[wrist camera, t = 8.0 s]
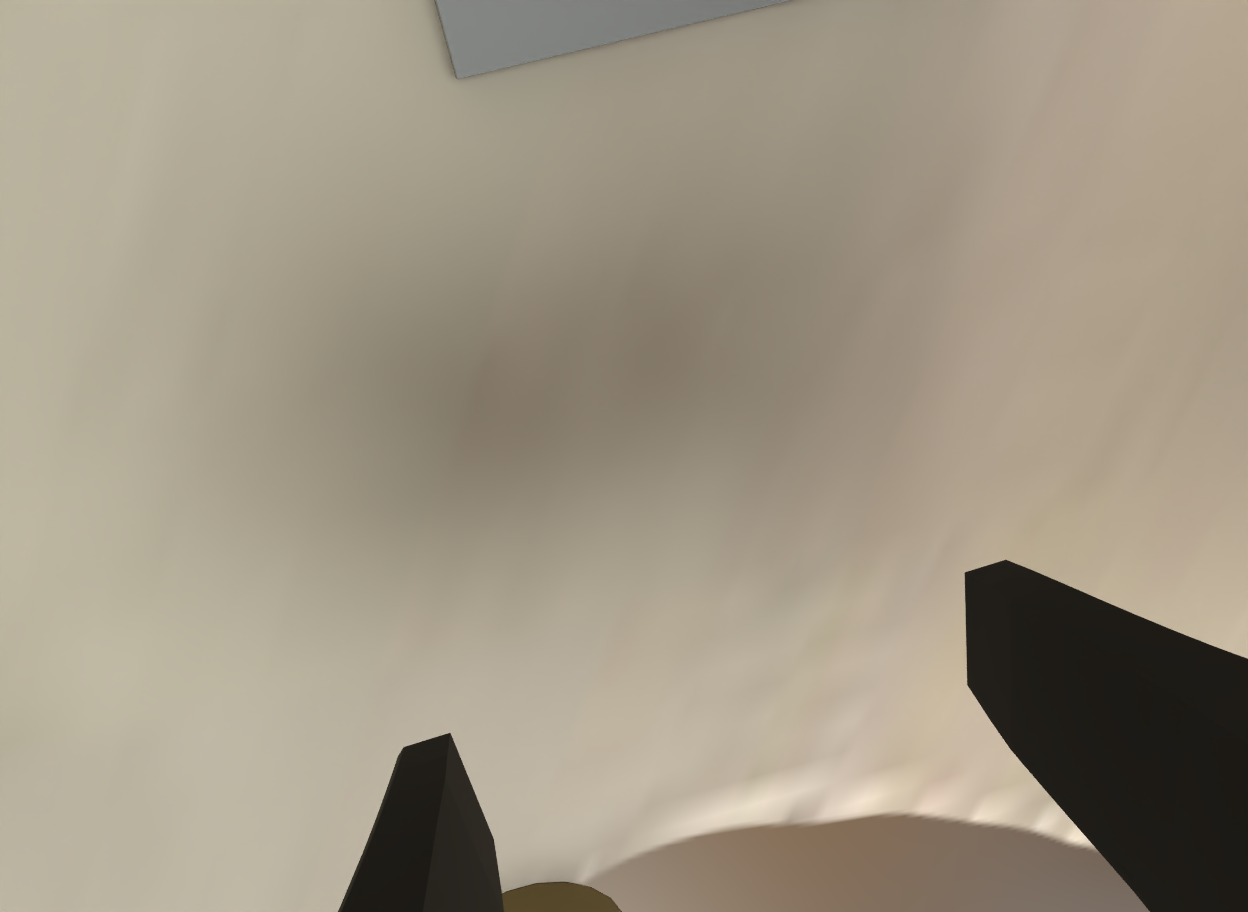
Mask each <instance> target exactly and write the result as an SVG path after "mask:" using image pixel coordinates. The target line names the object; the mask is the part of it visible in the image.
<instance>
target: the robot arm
mask: <svg viewBox="0 0 1248 912" xmlns="http://www.w3.org/2000/svg"><path fill="white" fill-rule="evenodd" d="M965 603H966V645H967V685H968V687H969V688H970V690H971V691H972V693H973V694H974V696H975V697H976V699H977V700H978V702H979V703H980V705H981V707H982V708H983V710H984V711H985V713H986V714H987V716H988V717H989V719H990V720H991V722H992V723H993V725H994V726H995V728H996V729H997V730H998V732H999V733H1000V735H1001V736H1002V738H1003V739H1004V740H1005V742H1006V743H1007V745H1008V746H1009V748H1010V749H1011V750H1012V751H1013V753H1014V754H1015V755H1016V756H1017V757H1018V759H1019V760H1020V761H1021V762H1022V763H1023V765H1024V766H1025V767H1026V768H1027V769H1028V770H1029V772H1030V773H1031V774H1032V775H1033V776H1034V777H1035V778H1036V780H1037V781H1038V782H1039V783H1040V784H1041V785H1042V787H1043V788H1044V789H1045V790H1046V791H1047V792H1048V794H1049V795H1050V796H1051V797H1052V798H1053V799H1054V801H1055V802H1056V803H1057V804H1058V805H1059V806H1060V807H1061V809H1062V810H1063V811H1064V812H1065V813H1066V814H1067V815H1068V817H1069V818H1070V819H1071V820H1072V821H1073V822H1074V823H1075V825H1076V826H1077V827H1078V828H1079V829H1080V830H1081V832H1082V833H1083V834H1084V835H1085V836H1086V837H1087V838H1088V840H1089V841H1090V842H1091V843H1092V844H1093V845H1094V846H1095V848H1096V849H1097V850H1098V851H1099V852H1100V853H1101V854H1102V856H1103V857H1104V858H1105V859H1106V860H1107V861H1108V862H1109V863H1110V865H1111V866H1112V867H1113V868H1114V869H1115V870H1116V872H1117V873H1118V874H1119V875H1120V876H1121V877H1122V878H1123V880H1124V881H1125V882H1126V883H1127V884H1128V885H1129V886H1130V888H1131V889H1132V890H1133V891H1134V892H1135V894H1136V895H1137V896H1138V897H1139V899H1140V900H1141V901H1142V902H1143V904H1144V905H1145V906H1146V907H1147V908H1148V910H1149V911H1150V912H1248V659H1247V658H1244V657H1241V656H1239V655H1236V654H1233V653H1230V652H1228V651H1225V650H1222V649H1219V648H1217V647H1214V646H1212V645H1209V644H1206V643H1204V642H1201V641H1199V640H1196V639H1194V638H1191V637H1189V636H1186V635H1183V634H1181V633H1178V632H1176V631H1174V630H1171V629H1169V628H1166V627H1164V626H1161V625H1159V624H1156V623H1154V622H1152V621H1149V620H1147V619H1144V618H1142V617H1140V616H1137V615H1135V614H1132V613H1130V612H1128V611H1125V610H1123V609H1121V608H1118V607H1116V606H1114V605H1111V604H1109V603H1107V602H1104V601H1102V600H1100V599H1097V598H1095V597H1093V596H1091V595H1088V594H1086V593H1084V592H1081V591H1079V590H1077V589H1074V588H1072V587H1070V586H1068V585H1065V584H1063V583H1061V582H1058V581H1056V580H1054V579H1051V578H1049V577H1047V576H1044V575H1042V574H1040V573H1037V572H1035V571H1033V570H1030V569H1028V568H1025V567H1023V566H1020V565H1018V564H1015V563H1013V562H1010V561H1007V560H1004V561H1000V562H997V563H994V564H991V565H987V566H984V567H981V568H978V569H975V570H971V571H968V572H965ZM338 912H504V907H503V899H502V892H501V885H500V878H499V871H498V865H497V858H496V851H495V845H494V839H493V836H492V834H491V832H490V829H489V827H488V824H487V822H486V819H485V817H484V814H483V812H482V809H481V807H480V805H479V802H478V800H477V797H476V795H475V792H474V790H473V787H472V785H471V782H470V780H469V778H468V775H467V773H466V770H465V768H464V765H463V763H462V760H461V758H460V756H459V753H458V751H457V748H456V746H455V743H454V741H453V738H452V736H451V733H448V734H445V735H442V736H438V737H435V738H432V739H429V740H426V741H422V742H419V743H416V744H413V745H409V746H406V747H404V748H403V749H402V751H401V753H400V754H399V756H398V758H397V761H396V764H395V767H394V770H393V773H392V776H391V779H390V782H389V784H388V787H387V790H386V793H385V796H384V799H383V801H382V804H381V807H380V810H379V812H378V815H377V818H376V820H375V823H374V825H373V828H372V831H371V833H370V836H369V838H368V841H367V844H366V846H365V849H364V851H363V854H362V856H361V858H360V861H359V863H358V866H357V868H356V870H355V873H354V875H353V878H352V880H351V882H350V885H349V887H348V890H347V892H346V894H345V897H344V899H343V902H342V904H341V906H340V908H339V911H338Z"/></svg>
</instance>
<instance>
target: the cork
mask: <svg viewBox="0 0 1248 912" xmlns="http://www.w3.org/2000/svg"><path fill="white" fill-rule="evenodd" d="M502 899H503V907H504V912H622V911H621V910H620V909H619V908H618V906H617V905H616V904H615V903H614V901H613V900H612V899H611V898H610V897H608V896H606V895H604V894H603V893H601V892H599V891H597V890H595V889H594V888H592V887H588V886H583V885H577V884H572V883H567V882H559V883H540V884H534V885H530V886H526V887H523V888H519V889H515V890H512V891H508V892H506V893H504V894H502Z"/></svg>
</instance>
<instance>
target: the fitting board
mask: <svg viewBox="0 0 1248 912" xmlns="http://www.w3.org/2000/svg"><path fill="white" fill-rule="evenodd" d="M786 1H790V0H435V3H436V7H437V10H438V14H439V18H440V21H441V25H442V29H443V32H444V36H445V40H446V43H447V47H448V51H449V54H450V58H451V62H452V65H453V69H454V72H455V76H456V78H457V79H460V78H464V77H468V76H473V75H477V74H481V73H485V72H490V71H494V70H498V69H502V68H507V67H511V66H515V65H519V64H524V63H528V62H532V61H536V60H540V59H545V58H549V57H553V56H557V55H562V54H566V53H570V52H574V51H579V50H583V49H587V48H591V47H596V46H600V45H604V44H608V43H612V42H617V41H621V40H625V39H629V38H634V37H638V36H642V35H646V34H651V33H655V32H659V31H663V30H668V29H672V28H676V27H680V26H684V25H689V24H693V23H697V22H701V21H706V20H710V19H714V18H718V17H723V16H727V15H731V14H735V13H740V12H744V11H748V10H752V9H756V8H761V7H765V6H769V5H773V4H778V3H782V2H786Z"/></svg>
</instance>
